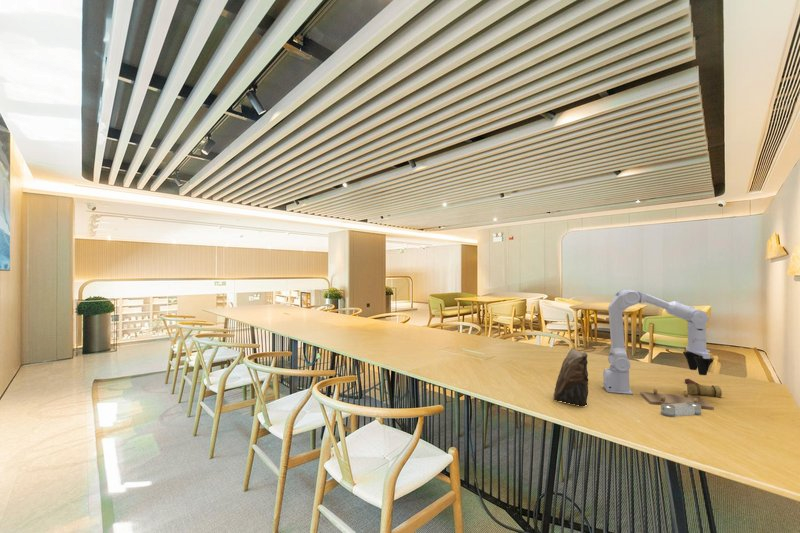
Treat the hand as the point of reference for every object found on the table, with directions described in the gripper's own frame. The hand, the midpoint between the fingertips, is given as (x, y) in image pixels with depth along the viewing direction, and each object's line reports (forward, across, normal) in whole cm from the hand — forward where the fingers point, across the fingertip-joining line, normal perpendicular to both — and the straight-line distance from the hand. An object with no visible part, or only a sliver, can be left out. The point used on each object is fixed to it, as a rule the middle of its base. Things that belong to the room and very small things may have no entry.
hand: (697, 372), depth 139 cm
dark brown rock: (+10, -18, +50) cm, 54 cm away
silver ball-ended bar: (+10, -21, +14) cm, 27 cm away
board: (+10, -8, +11) cm, 17 cm away
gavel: (+11, +12, -4) cm, 17 cm away
